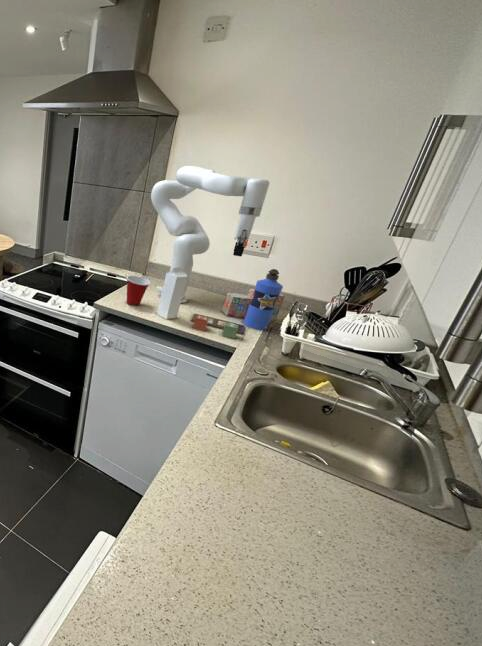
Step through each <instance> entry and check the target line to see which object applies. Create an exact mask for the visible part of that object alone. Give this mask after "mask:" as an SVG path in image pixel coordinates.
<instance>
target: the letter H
mask: <svg viewBox="0 0 482 646" xmlns="http://www.w3.org/2000/svg"><path fill="white" fill-rule="evenodd" d="M200 315H201V314H200ZM200 315H197V316H196V319H195V322H193V326H192V329H195V330H199V331H202V332H205V331H206V328H207V322H208V319H209V318H208V317H209V316H208V317H204V316H205V315H204V316H200Z"/></svg>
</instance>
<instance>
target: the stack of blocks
mask: <svg viewBox="0 0 482 646" xmlns="http://www.w3.org/2000/svg"><path fill="white" fill-rule="evenodd" d="M254 291H255V288H249V290H248V293H246V294H244V293H238V292H237V293H235V292H227V294H226V297H225V300H224V302H223V306H222V308H221V312H223V313H224V314H225V316H227V317H236V318H244V319H245V316H246V313H247V311H248V308H249V305H250V303H251V301H252V299H253V296H254ZM284 299H285V295H283V294H282V292H281V293H280V294H279V296H278V298H277V300H276V302H275V306H274V311H273V313H272V316H271V319H270V321H269V322H276V320H277V318H278V315H279V312H280V310H281V308H282V305H283V302H284Z"/></svg>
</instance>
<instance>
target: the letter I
mask: <svg viewBox="0 0 482 646" xmlns="http://www.w3.org/2000/svg"><path fill="white" fill-rule="evenodd" d="M228 322H229V321H228ZM228 322H226V324H225V327H224V330H223V329H222V330H223V331H222V334H221V336H222V337H226V338H229V339H232V340H233V339H236V335H237V334H238V333H237V330H238V325H237V324H238V323H236V324H232V323H233V322H232V323H228Z"/></svg>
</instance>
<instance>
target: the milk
mask: <svg viewBox="0 0 482 646" xmlns="http://www.w3.org/2000/svg"><path fill="white" fill-rule="evenodd" d="M183 270H184V267H175V268H173V271H171V272H170V271H169V272H166V274H165V278H164V282H163V286H162V288H163V290H162V292H161V293H162V294H161V293H160V295H161V296H160V298H159V302H158V307H157V311H156V315H158V316H159V317H162V318H163V319H165V320H170V319H177V318H178V314H179V310H180V306H181V304H182V303H181V299H182V295H183V292H184V288H185V284H186V280H187V275H186V274H185V272H184V271H183Z"/></svg>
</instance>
